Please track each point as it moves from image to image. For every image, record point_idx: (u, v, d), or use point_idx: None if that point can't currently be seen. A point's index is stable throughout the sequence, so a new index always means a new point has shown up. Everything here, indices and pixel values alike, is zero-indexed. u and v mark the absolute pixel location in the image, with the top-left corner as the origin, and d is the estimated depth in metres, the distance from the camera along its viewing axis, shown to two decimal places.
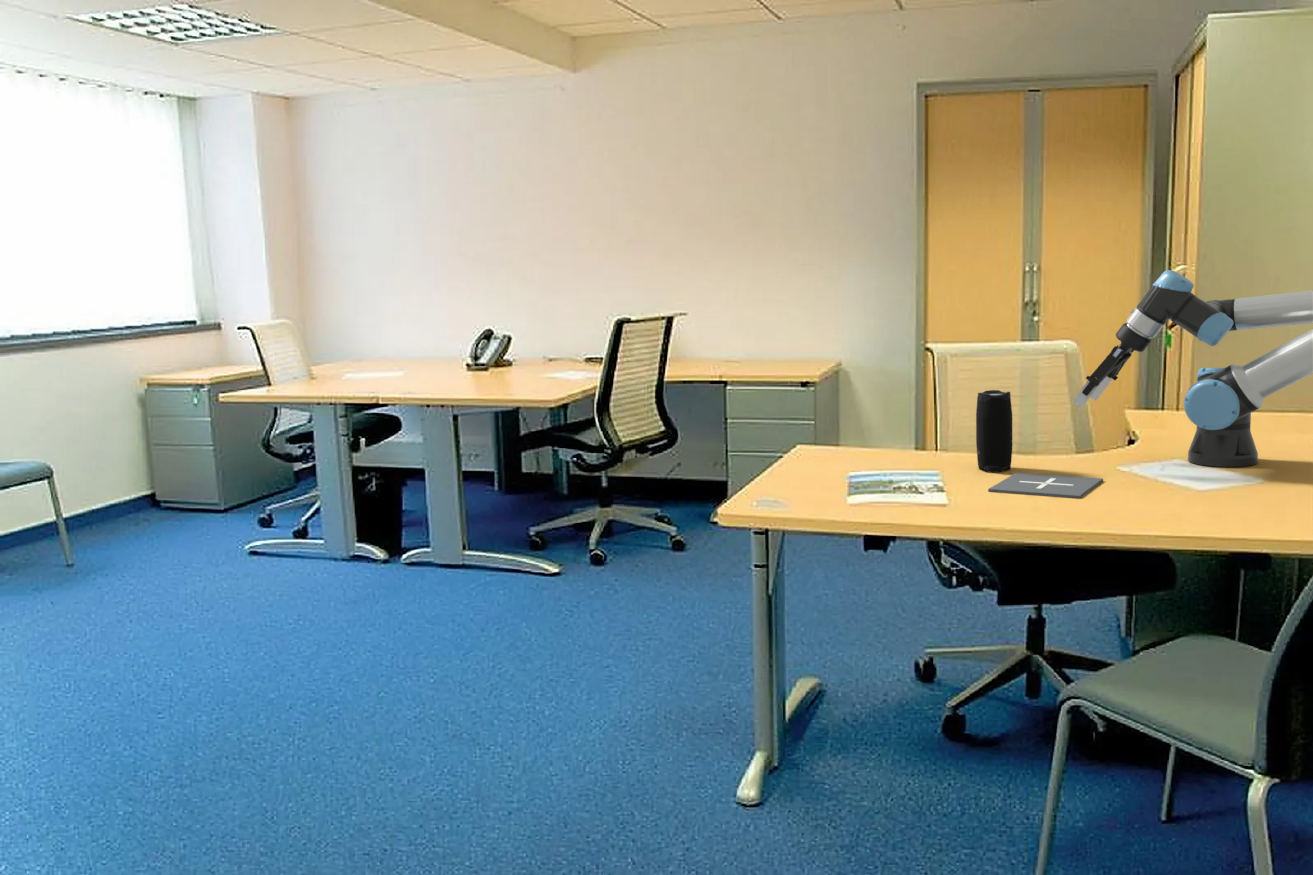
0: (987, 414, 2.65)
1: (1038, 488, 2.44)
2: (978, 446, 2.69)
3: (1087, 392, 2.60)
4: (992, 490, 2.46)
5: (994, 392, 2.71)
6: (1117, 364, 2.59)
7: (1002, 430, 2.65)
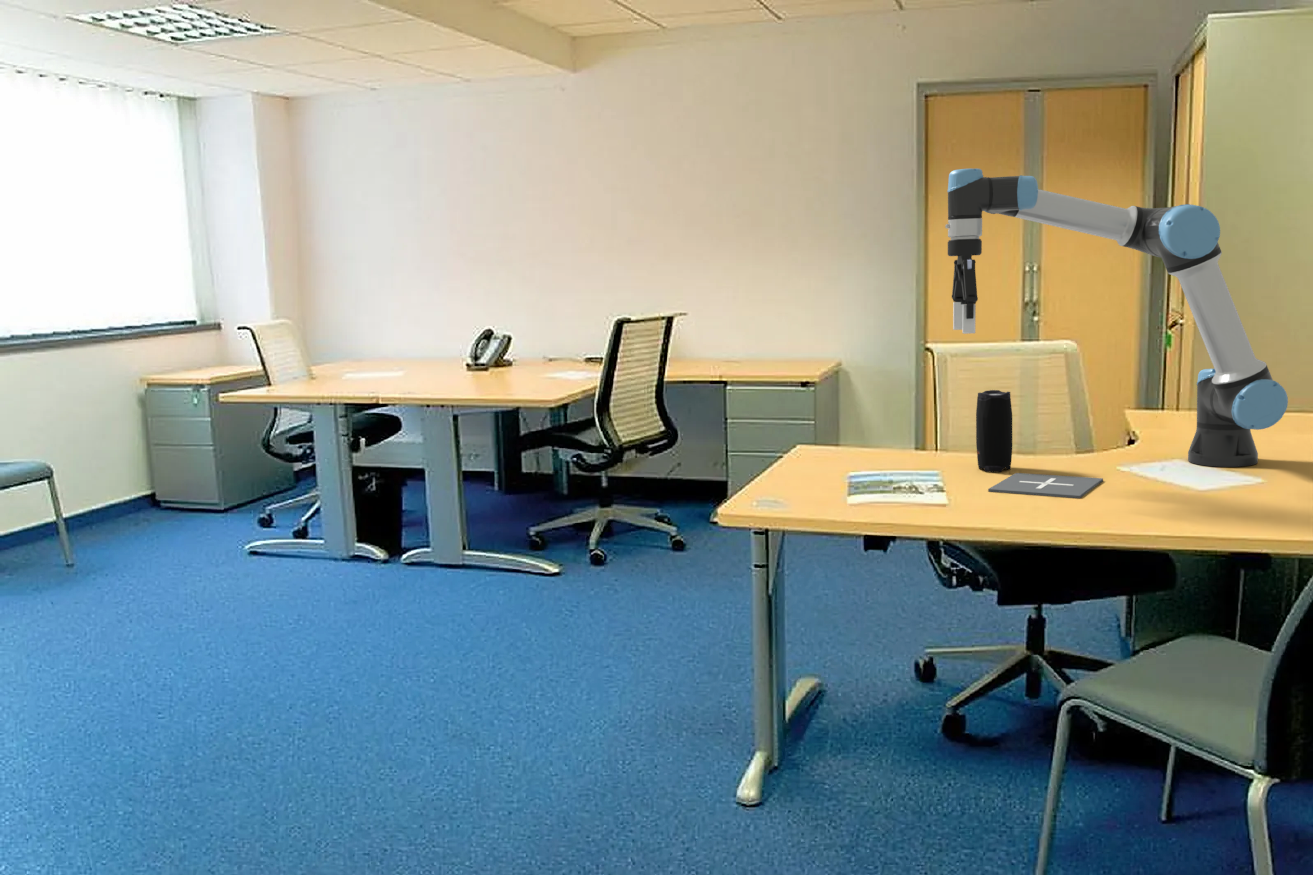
0: (987, 414, 2.65)
1: (1038, 488, 2.44)
2: (978, 446, 2.69)
3: (972, 314, 2.43)
4: (992, 490, 2.46)
5: (994, 392, 2.71)
6: None
7: (1002, 430, 2.65)
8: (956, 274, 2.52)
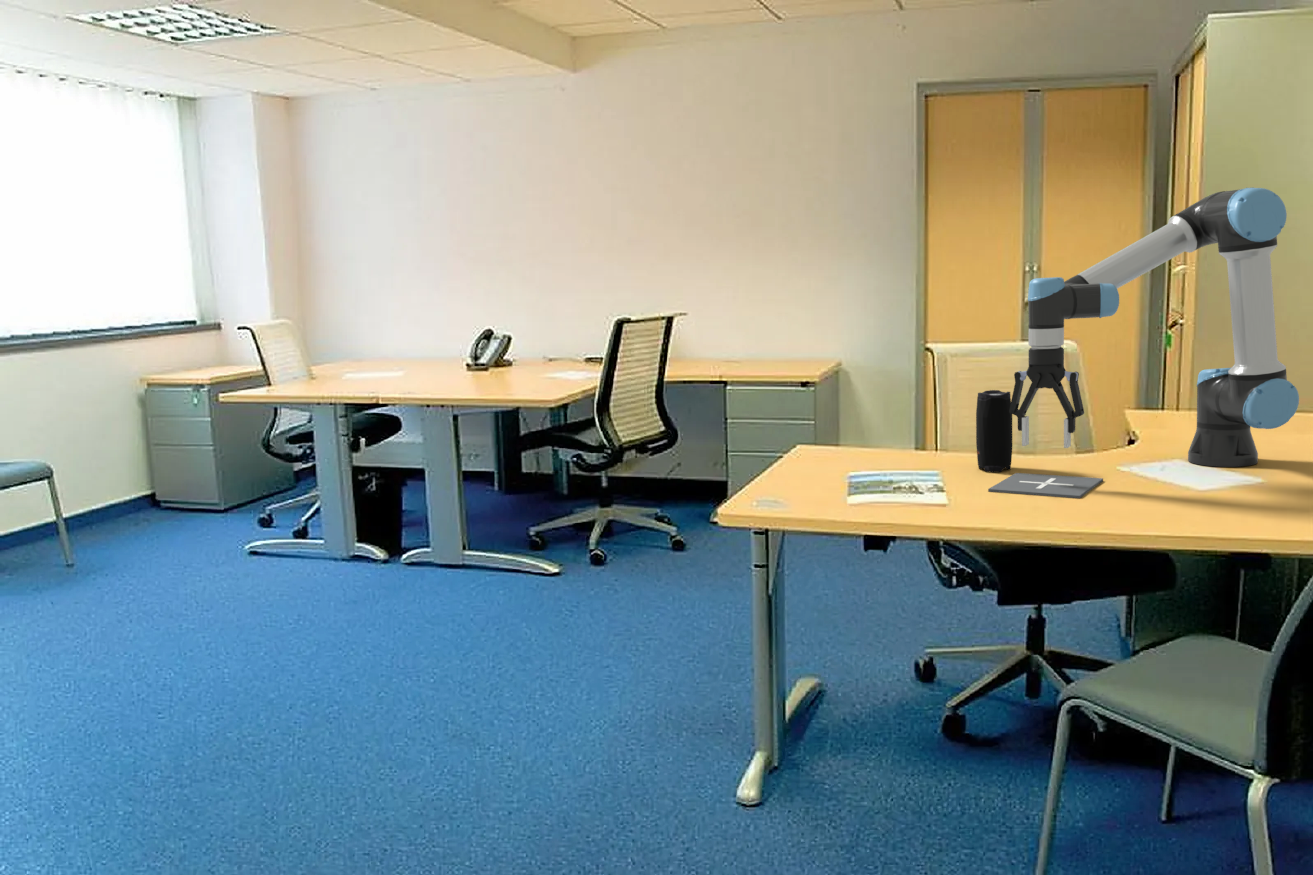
0: (987, 414, 2.65)
1: (1038, 488, 2.44)
2: (978, 446, 2.69)
3: None
4: (992, 490, 2.46)
5: (994, 392, 2.71)
6: None
7: (1002, 430, 2.65)
8: None
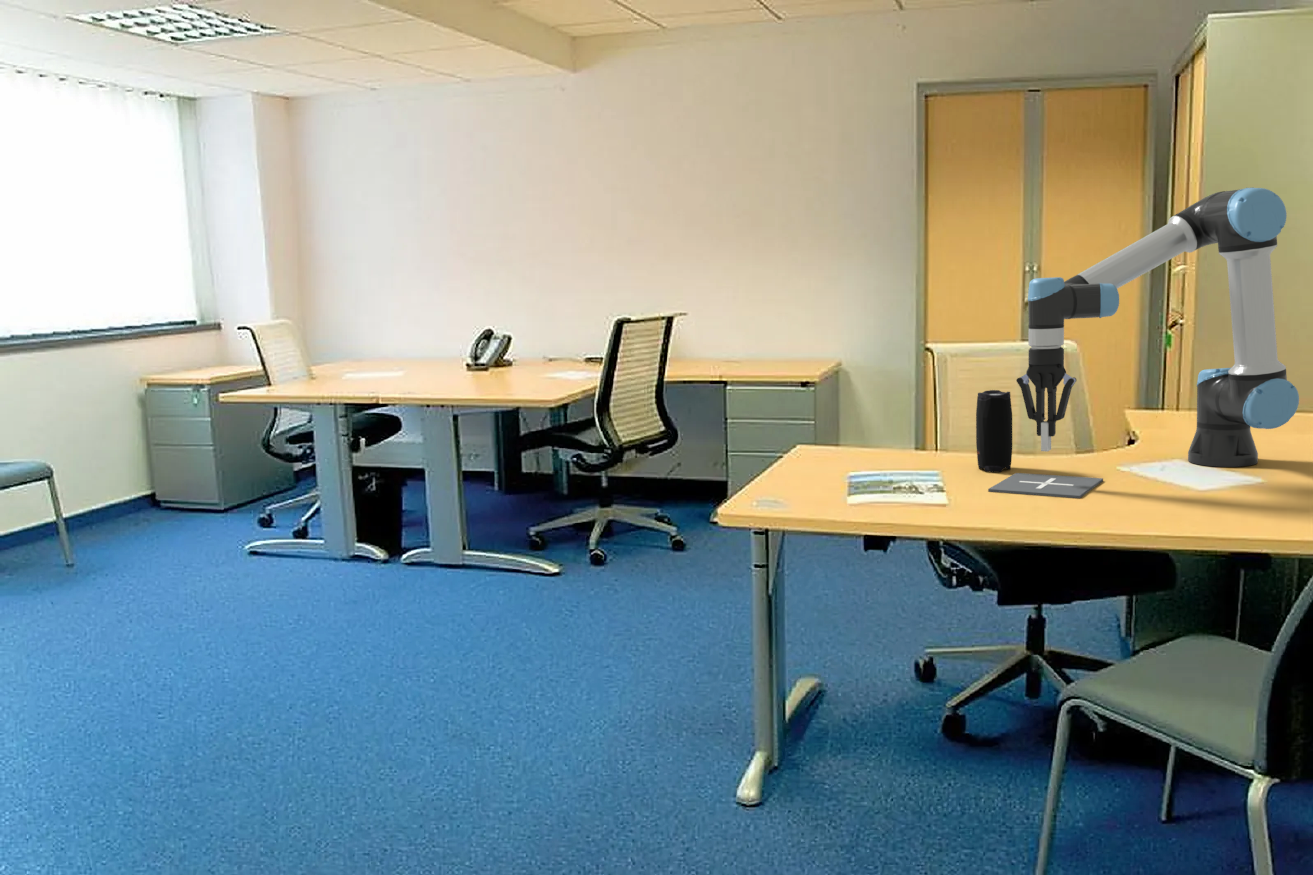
0: (987, 414, 2.65)
1: (1038, 488, 2.44)
2: (978, 446, 2.69)
3: None
4: (992, 490, 2.46)
5: (994, 392, 2.71)
6: None
7: (1002, 430, 2.65)
8: None
